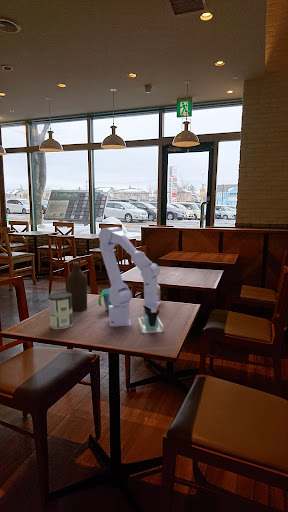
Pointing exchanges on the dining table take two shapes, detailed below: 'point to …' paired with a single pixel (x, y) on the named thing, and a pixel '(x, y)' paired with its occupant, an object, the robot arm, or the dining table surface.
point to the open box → (144, 330)
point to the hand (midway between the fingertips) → (151, 323)
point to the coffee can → (60, 310)
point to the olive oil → (77, 288)
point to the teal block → (148, 323)
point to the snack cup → (105, 298)
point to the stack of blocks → (158, 296)
